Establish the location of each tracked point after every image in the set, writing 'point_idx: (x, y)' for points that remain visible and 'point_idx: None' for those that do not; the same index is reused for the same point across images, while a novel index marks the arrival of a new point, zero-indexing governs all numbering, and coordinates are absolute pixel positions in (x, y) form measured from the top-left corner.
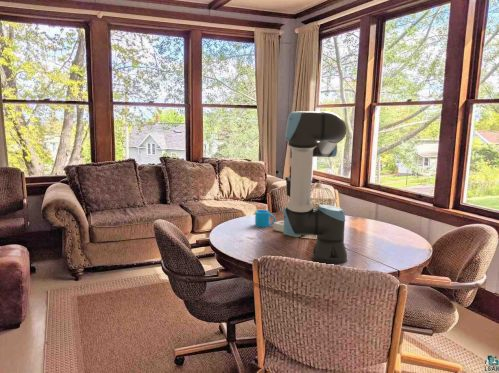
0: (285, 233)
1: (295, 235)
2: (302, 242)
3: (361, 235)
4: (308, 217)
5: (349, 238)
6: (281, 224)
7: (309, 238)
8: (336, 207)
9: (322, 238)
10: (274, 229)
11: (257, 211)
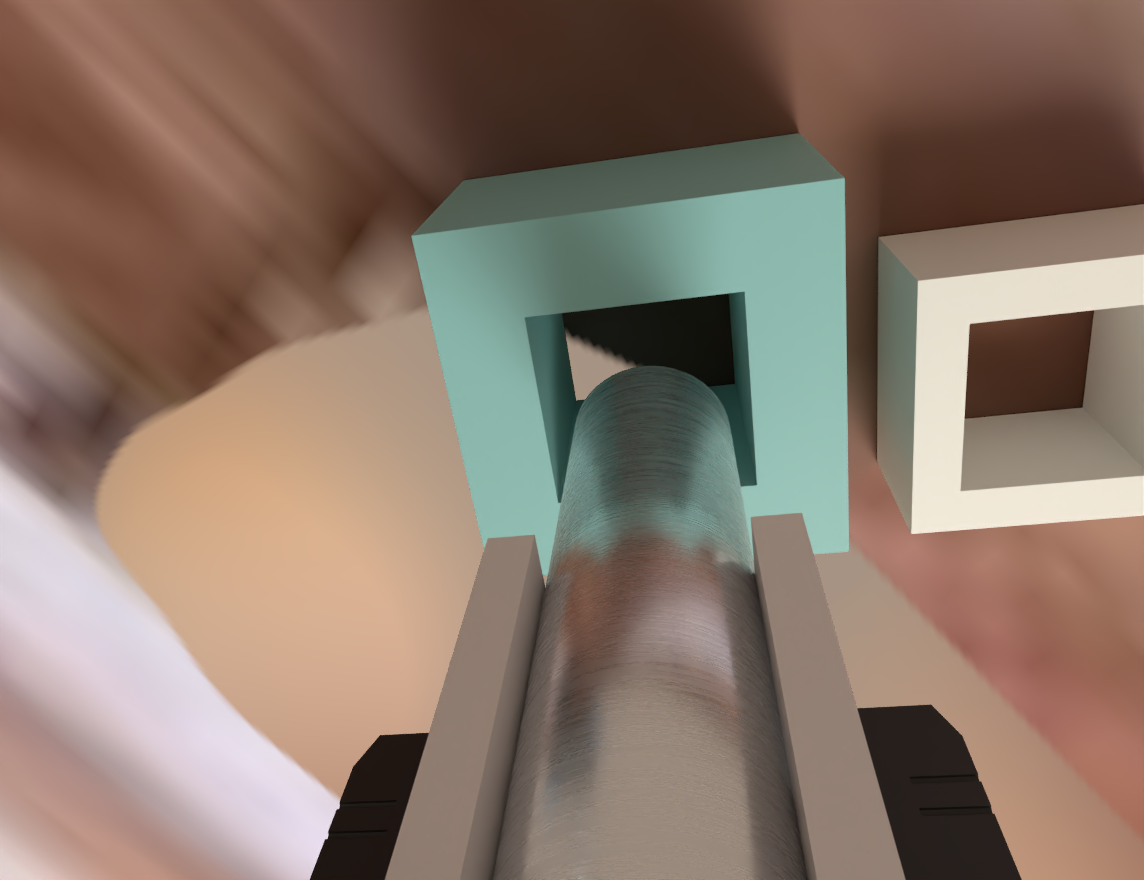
0: (748, 145)
1: (497, 181)
2: (156, 10)
3: (96, 864)
4: None
5: (45, 701)
6: (999, 274)
7: (299, 307)
8: None
9: None
10: (1142, 207)
11: None
